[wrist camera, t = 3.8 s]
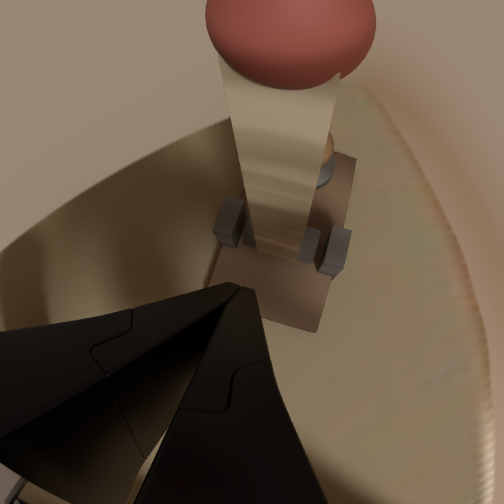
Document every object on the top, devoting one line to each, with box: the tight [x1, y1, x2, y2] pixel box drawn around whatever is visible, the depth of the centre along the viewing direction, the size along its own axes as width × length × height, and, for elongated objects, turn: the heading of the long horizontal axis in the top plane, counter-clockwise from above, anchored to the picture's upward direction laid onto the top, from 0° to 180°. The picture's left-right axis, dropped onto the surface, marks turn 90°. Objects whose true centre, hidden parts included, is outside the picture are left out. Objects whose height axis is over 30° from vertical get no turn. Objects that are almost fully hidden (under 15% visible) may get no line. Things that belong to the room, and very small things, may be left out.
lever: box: [205, 0, 376, 264], centre depth 11 cm, size 4×4×17 cm
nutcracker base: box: [208, 132, 356, 333], centre depth 19 cm, size 14×8×6 cm, turn 162°
